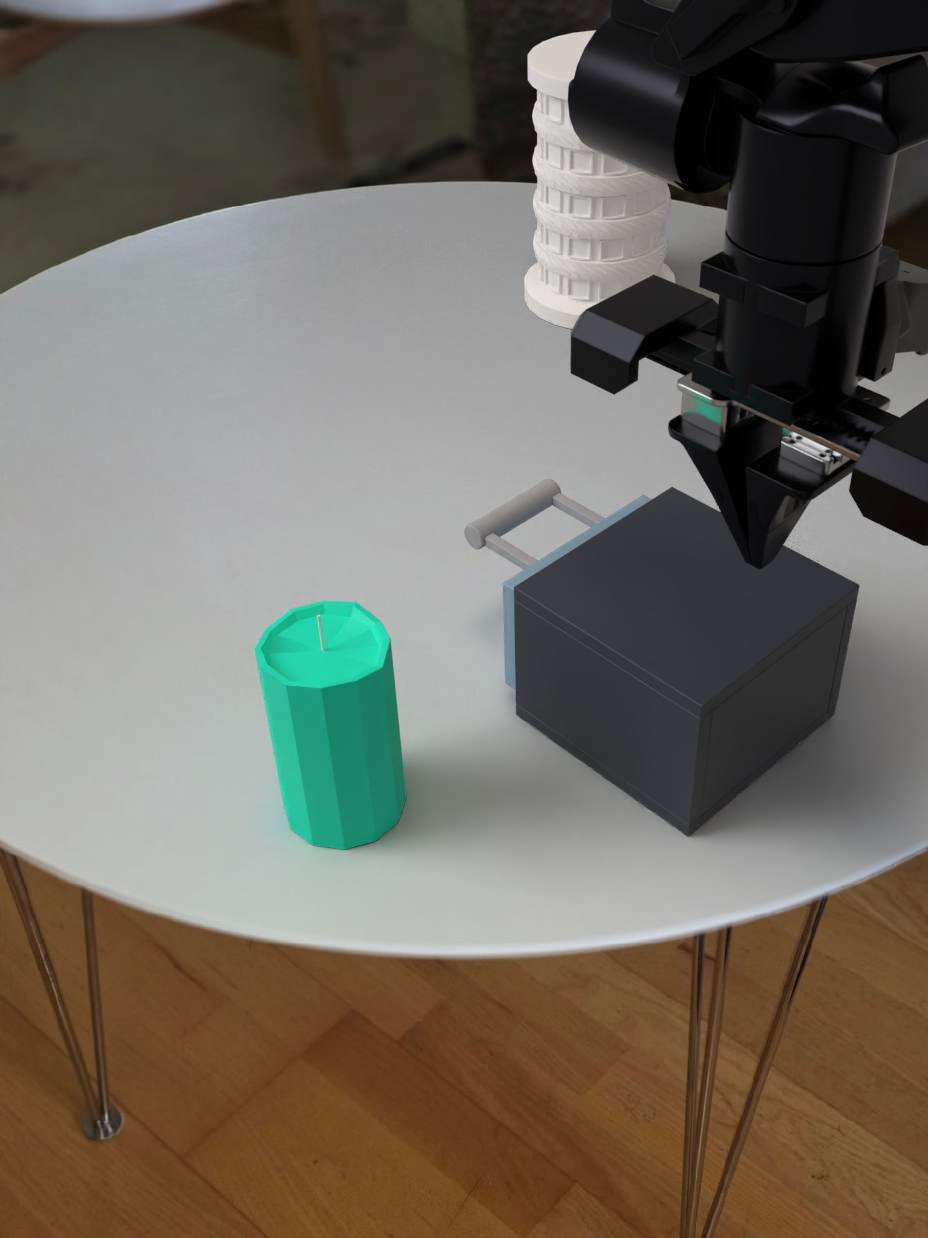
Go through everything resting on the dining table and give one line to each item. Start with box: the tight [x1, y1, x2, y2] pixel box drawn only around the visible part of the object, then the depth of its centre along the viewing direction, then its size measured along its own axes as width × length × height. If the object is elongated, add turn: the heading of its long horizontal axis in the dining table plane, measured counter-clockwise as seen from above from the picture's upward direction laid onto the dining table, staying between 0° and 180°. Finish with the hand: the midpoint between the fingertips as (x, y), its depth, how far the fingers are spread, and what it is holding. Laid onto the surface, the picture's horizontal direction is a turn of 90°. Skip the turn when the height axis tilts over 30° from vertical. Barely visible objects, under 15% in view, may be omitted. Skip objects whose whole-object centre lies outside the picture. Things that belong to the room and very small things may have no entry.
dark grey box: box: [514, 486, 860, 837], centre depth 68 cm, size 12×12×9 cm
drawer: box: [463, 478, 653, 691], centre depth 70 cm, size 16×10×7 cm, turn 43°
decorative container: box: [524, 29, 677, 330], centre depth 100 cm, size 12×12×18 cm
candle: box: [253, 599, 407, 850], centre depth 63 cm, size 6×6×12 cm
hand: (759, 562), depth 61 cm, fingers closed
